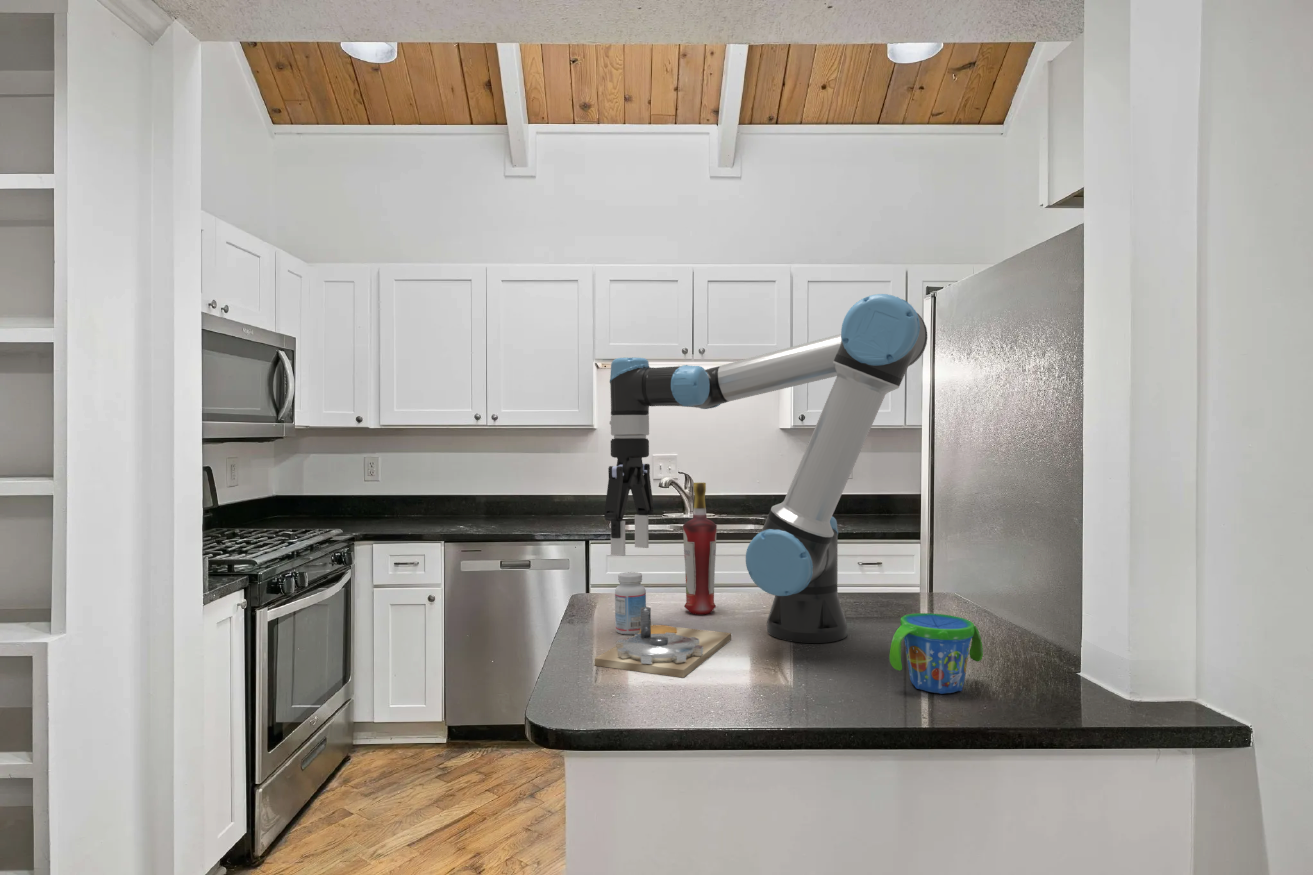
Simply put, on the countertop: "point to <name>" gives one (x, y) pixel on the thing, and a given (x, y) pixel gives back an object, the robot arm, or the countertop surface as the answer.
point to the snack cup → (936, 650)
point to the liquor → (699, 556)
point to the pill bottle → (629, 603)
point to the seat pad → (662, 629)
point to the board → (706, 639)
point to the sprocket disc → (657, 645)
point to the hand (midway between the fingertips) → (630, 551)
